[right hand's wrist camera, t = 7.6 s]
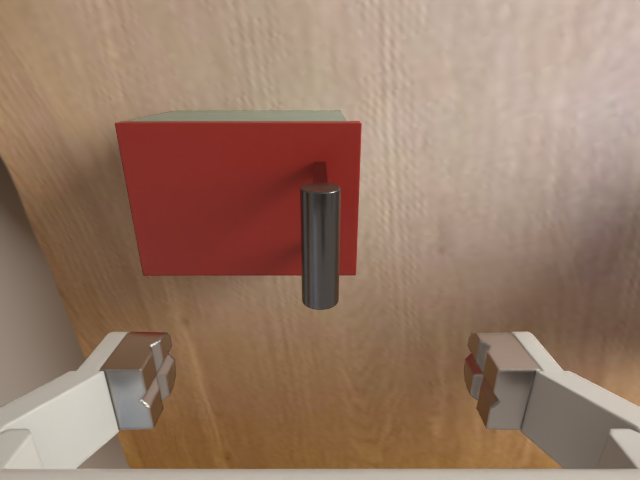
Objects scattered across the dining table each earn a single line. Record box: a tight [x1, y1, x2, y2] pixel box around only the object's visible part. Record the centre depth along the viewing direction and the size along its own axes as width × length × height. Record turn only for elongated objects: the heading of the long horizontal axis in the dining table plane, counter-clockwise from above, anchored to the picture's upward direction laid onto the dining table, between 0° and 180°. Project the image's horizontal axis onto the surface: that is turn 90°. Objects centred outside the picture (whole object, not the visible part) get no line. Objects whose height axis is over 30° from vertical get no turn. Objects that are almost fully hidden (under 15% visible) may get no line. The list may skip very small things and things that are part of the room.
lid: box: [115, 121, 362, 310], centre depth 21 cm, size 14×10×8 cm
